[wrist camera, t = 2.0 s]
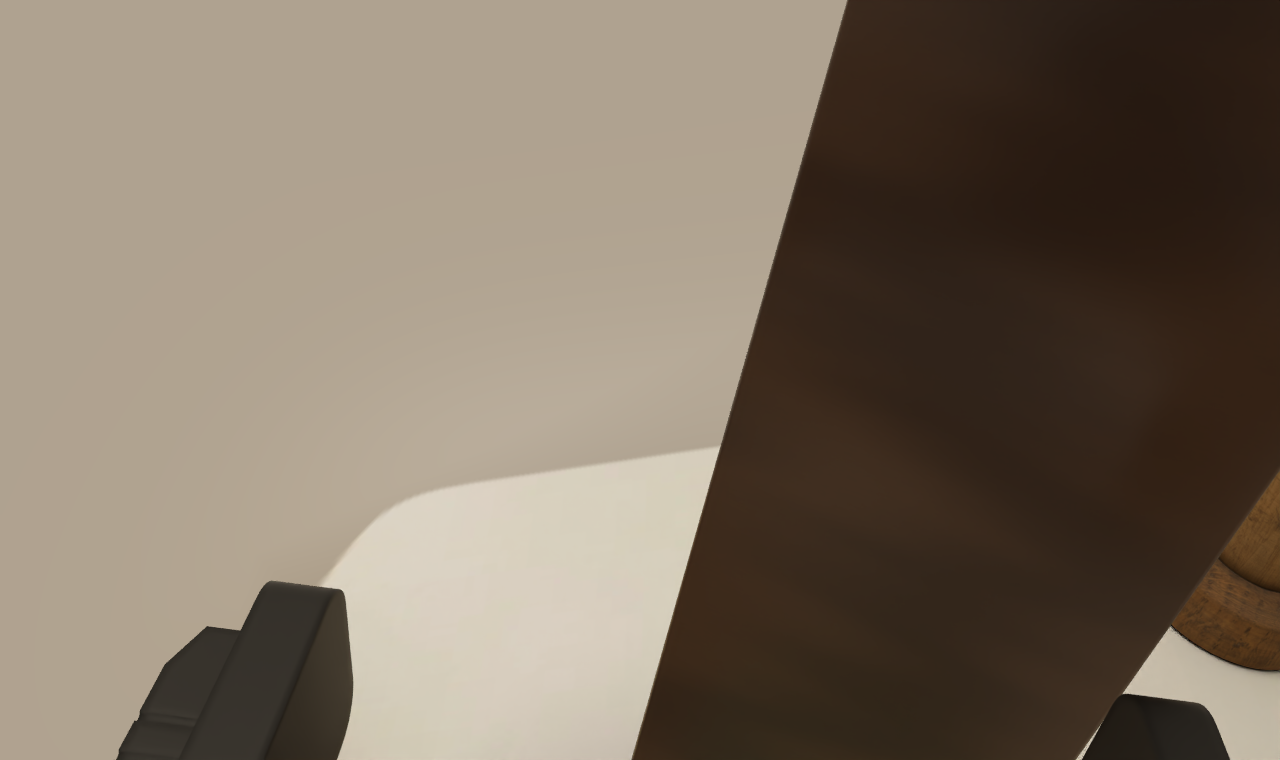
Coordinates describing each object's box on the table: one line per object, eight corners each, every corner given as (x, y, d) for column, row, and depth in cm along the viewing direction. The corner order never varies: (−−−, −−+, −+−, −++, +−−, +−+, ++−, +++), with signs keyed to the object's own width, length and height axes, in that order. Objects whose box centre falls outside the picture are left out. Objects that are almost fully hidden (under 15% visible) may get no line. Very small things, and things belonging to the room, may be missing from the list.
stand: (445, 1159, 25) (782, -776, 6) (656, 755, 34) (1048, -525, 15) (774, 1365, 23) (2627, -513, 4) (903, 879, 32) (1689, -405, 14)
